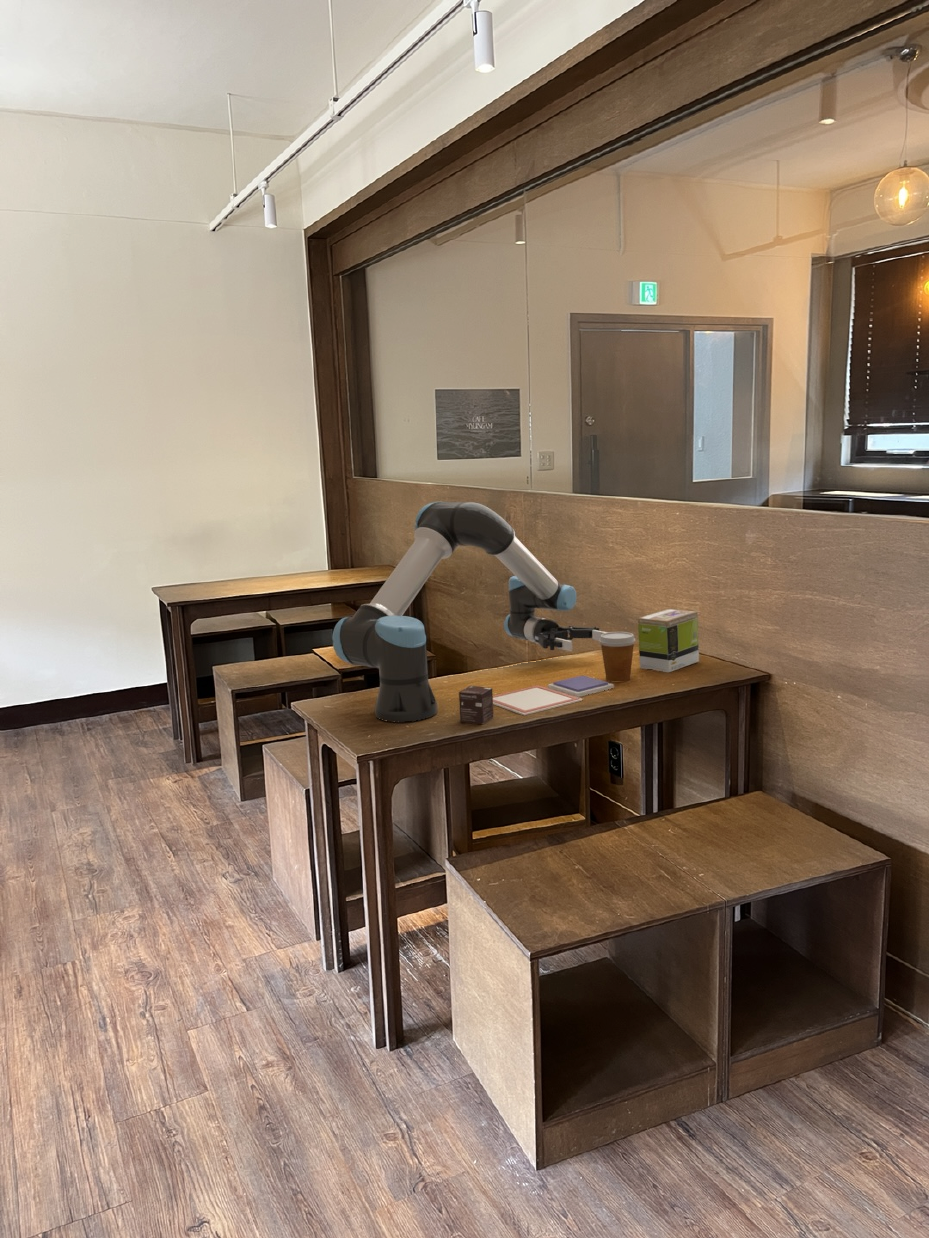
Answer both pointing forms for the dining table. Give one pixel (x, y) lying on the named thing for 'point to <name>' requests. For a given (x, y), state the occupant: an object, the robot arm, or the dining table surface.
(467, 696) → the box
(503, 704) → the marked board
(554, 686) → the ink pad
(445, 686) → the dining table surface
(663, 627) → the tea box
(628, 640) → the disposable coffee cup
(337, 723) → the dining table surface
